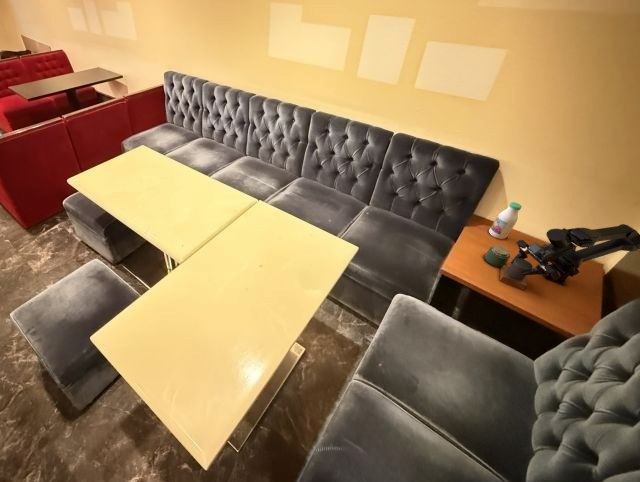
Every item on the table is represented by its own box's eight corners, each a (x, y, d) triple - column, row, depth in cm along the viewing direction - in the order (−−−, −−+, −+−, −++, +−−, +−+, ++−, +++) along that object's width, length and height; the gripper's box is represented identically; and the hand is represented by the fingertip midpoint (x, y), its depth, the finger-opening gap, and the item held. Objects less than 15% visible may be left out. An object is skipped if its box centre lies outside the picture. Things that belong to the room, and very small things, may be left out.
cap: (523, 273, 140) (532, 262, 136) (523, 282, 136) (533, 271, 132) (506, 267, 143) (514, 255, 139) (506, 276, 139) (514, 264, 135)
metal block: (523, 277, 142) (526, 273, 140) (523, 290, 136) (527, 285, 135) (500, 268, 146) (503, 264, 144) (499, 280, 140) (503, 276, 139)
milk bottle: (502, 230, 168) (521, 201, 156) (508, 240, 161) (529, 210, 150) (486, 228, 169) (504, 198, 158) (491, 237, 163) (510, 207, 152)
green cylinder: (504, 259, 151) (512, 248, 146) (504, 270, 145) (512, 259, 141) (484, 252, 155) (491, 241, 150) (483, 262, 149) (490, 251, 145)
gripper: (531, 225, 135) (494, 244, 141) (570, 257, 120) (528, 277, 126) (538, 238, 140) (503, 256, 146) (577, 270, 125) (536, 289, 131)
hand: (516, 268), depth 137 cm, fingers closed on cap, 6 cm apart
